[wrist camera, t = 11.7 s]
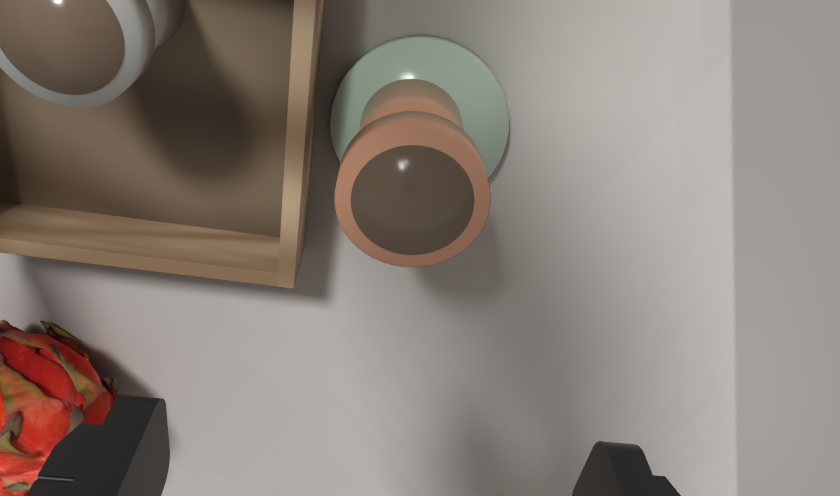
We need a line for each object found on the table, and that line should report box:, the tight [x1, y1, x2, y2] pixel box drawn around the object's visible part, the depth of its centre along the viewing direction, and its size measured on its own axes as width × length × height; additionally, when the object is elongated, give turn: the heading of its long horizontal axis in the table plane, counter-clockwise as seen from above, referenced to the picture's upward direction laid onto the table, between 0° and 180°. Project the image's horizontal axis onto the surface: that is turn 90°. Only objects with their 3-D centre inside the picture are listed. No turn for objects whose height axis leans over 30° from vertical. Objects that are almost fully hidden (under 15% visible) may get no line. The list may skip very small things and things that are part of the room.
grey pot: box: [0, 0, 185, 108], centre depth 24 cm, size 5×5×7 cm
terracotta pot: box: [334, 79, 490, 267], centre depth 27 cm, size 6×6×7 cm
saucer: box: [330, 35, 509, 178], centre depth 30 cm, size 8×8×1 cm
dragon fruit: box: [0, 320, 118, 496], centre depth 35 cm, size 8×8×12 cm
